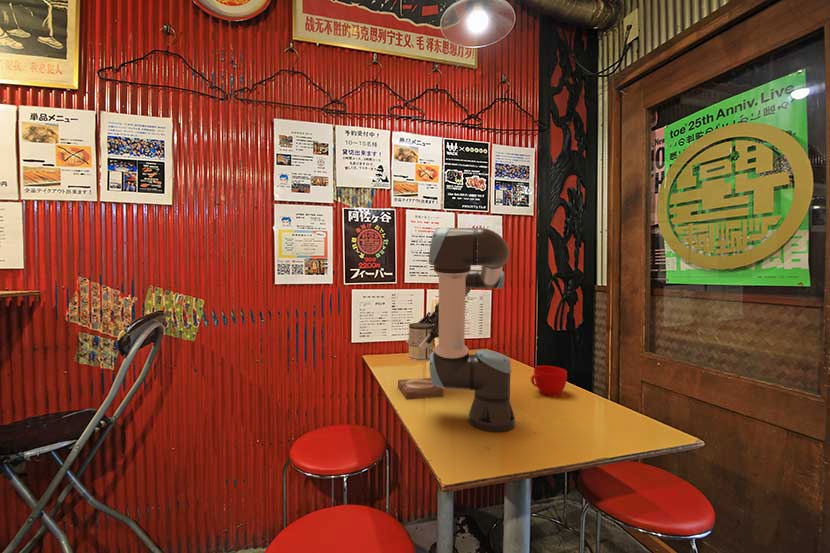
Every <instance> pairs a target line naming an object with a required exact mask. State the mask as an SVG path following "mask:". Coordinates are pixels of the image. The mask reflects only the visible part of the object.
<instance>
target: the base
mask: <svg viewBox="0 0 830 553" xmlns="http://www.w3.org/2000/svg"><path fill="white" fill-rule="evenodd" d="M397 388H398V390H399V391H400V392H401V394H402V395H403V397H404V398H405V399H406V400H415V399H417V400H418V399H425V398H426V399H428V398H429V399H430V398H439V397H440V398H441V397H443V396H444V388H441V387H436V386H435V385H434V384H433V383H432V380H431V377H428V378H427V377H423V378H412V379H411V378H409V379H398V380H397Z"/></svg>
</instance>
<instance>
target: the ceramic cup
mask: <svg viewBox="0 0 830 553" xmlns="http://www.w3.org/2000/svg"><path fill="white" fill-rule="evenodd" d="M567 379H568V371H567V369H564V368H562V367H558V366H553V365H537V366H536V365H535V367H534V368H533V374H532V375H531V377H530V381H531V383H532V385H533V386H534V387H536V388H537V389H538V390H539V391H540V392H542V393H543V395H544V394H545V396H548V397H557V396H559V395H560V394H561V393H562V392H563V391H564V389H565V387H566V384H567ZM542 393H541V394H542Z"/></svg>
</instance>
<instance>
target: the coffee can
mask: <svg viewBox="0 0 830 553" xmlns="http://www.w3.org/2000/svg"><path fill="white" fill-rule="evenodd" d="M433 325H434V324H429V323H418V322H413V323H408V338H409V344H408V359H409V360H410V361H415V362H430V354H431V353H432V352H434V339H433V340H432V342H431V343H430V344H429V345H428V346H427V348H426V349H425V350H424V351H423V350H422V349H421V348H420V347H419V345H420V344H421V343H422V342H423V340H424V339H425V338H426V337H427V336H428V334H430V332H431V331H432V328H433ZM430 335H431V334H430Z"/></svg>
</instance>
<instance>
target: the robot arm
mask: <svg viewBox="0 0 830 553" xmlns="http://www.w3.org/2000/svg"><path fill="white" fill-rule="evenodd" d="M428 256H429V257H428V264H429V265H431V266H433V271H434V273H435V274H436V275H437V276H438V302H437V303H436V305H435V306H434V311H433V312H432V313H431V312H430V311H429V312H427V313H426V314H425V315H424V316H423V318H421V319H420V320H419V321H418V322H417V323H429V324H433V328H432V331H431V332H430V334H431V335H430V334H428V336H427V337H426V338H425V339H424V340H423V342H422V343H421V344H420V345H419V347H420V348H421V349H422V350H423V351H424V350H425V349H426V348H427V346H428V345H429V344H430V343H431V342H432V340H433V341H434V339H438V344H437V345H435V347H433V352H432V353H431V354H430V360H429V374H430V378H431V380H432V383H433V384H434V385H435V386H436V387H441V388H442V389H451V390H452V389H455V390H466V391H474V393H473V394H474V398H473V400H472V402H471V405H470V409H469V412H468V423H469V424H470V425H472V426H473V427H475V428H477V429H479V430H482V431H485V432H486V431H487V432H493V433H495V432H496V433H502V432H509V431H511V430H513V429H514V428H515V426H516V424H515V423H516V417H515V414H514V410H513V408H512V403H511V373H512V369H511V364H512V363H511V360H510V358H509V357H508V356H507V355H505V354H503V353H500V352H498V351H493V350H489V349H477V350H476V351H475V352H474V354H470V350H469V348H468V347H467V345H465V338H466V337H465V336H466V335H465V334H466V333H465V332H466V331H465V327H466V296H467V295H468V294H469V293H470V292H471V290H472V289H494V290H496V289H498V290H499V289H503V288H504V286H505V272H504V271H503V267H504V266H505V265H507V262H508V260H509V258H510V247H509V244H508V243H507V242H506V240H505V239H504V238H503V237H502V236H501V235H500V234H499V233H497V232H495V231H493V230H492V229H490V228H489V229H488V228H485V227H476V228H475V227H471V228H470V227H442V228H440V227H439V228H437V229H435V230H434V231H433V233H432V236H431V240H430V246H429V254H428ZM471 266H473V267H474V266H477V267H478V266H481V268H480V269H471ZM405 342H406V343H407V345H409V337H408V338H407V339H406V340H405Z"/></svg>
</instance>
